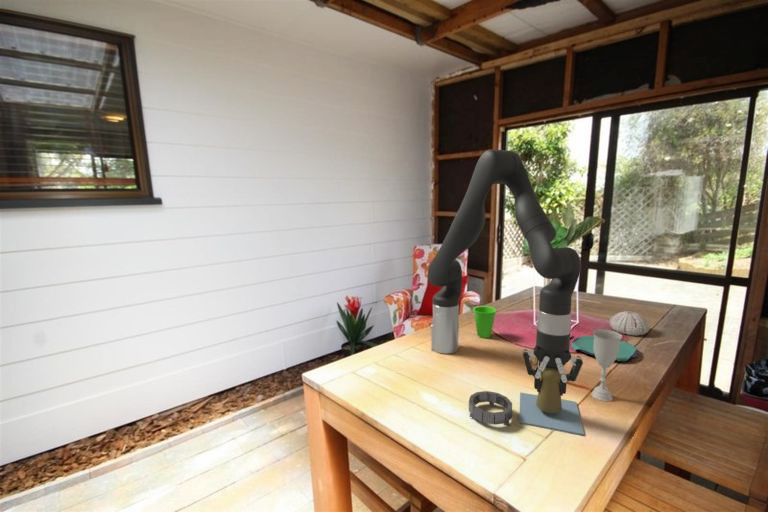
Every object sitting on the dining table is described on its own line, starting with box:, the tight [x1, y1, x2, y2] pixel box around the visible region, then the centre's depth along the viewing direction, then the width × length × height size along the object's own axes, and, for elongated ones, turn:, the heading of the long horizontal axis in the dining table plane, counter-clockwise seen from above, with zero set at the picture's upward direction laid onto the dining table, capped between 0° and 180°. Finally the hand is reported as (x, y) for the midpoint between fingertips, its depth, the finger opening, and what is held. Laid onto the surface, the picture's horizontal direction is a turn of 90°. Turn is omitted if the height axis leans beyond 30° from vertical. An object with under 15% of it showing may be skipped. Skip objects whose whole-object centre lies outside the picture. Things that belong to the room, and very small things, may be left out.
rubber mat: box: [518, 392, 585, 437], centre depth 91 cm, size 14×14×1 cm
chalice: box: [590, 328, 623, 402], centre depth 97 cm, size 7×7×18 cm
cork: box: [536, 368, 562, 413], centre depth 90 cm, size 6×6×11 cm
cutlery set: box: [571, 335, 639, 362], centre depth 130 cm, size 20×30×2 cm, turn 44°
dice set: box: [531, 355, 539, 366], centre depth 118 cm, size 5×5×2 cm
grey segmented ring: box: [468, 390, 513, 427], centre depth 91 cm, size 10×10×4 cm
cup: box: [472, 305, 498, 339], centre depth 141 cm, size 9×9×11 cm
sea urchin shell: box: [609, 310, 650, 337], centre depth 143 cm, size 13×14×8 cm
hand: (549, 391), depth 91 cm, fingers closed on cork, 4 cm apart
